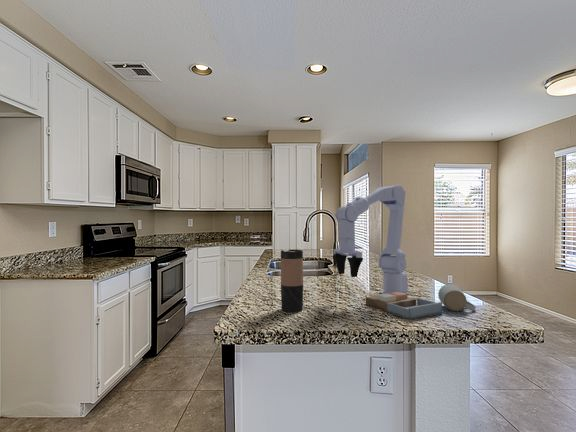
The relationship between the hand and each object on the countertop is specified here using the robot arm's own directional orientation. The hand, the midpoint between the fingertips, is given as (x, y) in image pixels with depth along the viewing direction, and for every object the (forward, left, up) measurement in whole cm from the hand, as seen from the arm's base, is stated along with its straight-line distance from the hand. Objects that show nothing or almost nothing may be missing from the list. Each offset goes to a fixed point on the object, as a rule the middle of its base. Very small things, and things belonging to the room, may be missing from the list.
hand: (347, 275), depth 121 cm
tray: (-10, +22, -10) cm, 26 cm away
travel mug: (+23, -1, -10) cm, 25 cm away
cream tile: (-7, +12, -7) cm, 16 cm away
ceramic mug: (-26, +25, -10) cm, 38 cm away
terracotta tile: (-13, +12, -7) cm, 19 cm away
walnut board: (-10, +11, -10) cm, 18 cm away
